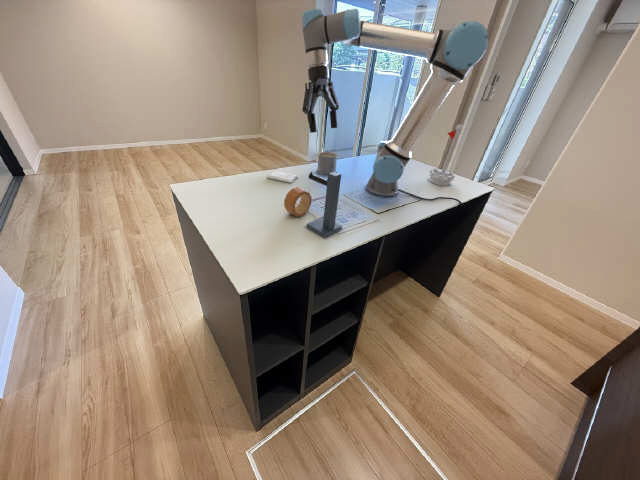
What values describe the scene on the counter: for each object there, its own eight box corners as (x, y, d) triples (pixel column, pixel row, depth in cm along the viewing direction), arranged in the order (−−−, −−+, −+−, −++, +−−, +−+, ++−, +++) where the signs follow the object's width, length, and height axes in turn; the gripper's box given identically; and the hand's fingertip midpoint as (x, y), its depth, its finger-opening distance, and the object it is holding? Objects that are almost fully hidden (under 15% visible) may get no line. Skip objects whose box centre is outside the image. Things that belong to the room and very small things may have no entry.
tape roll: (302, 207, 102) (303, 184, 97) (310, 211, 100) (312, 188, 94) (284, 215, 96) (284, 191, 90) (292, 220, 94) (292, 195, 88)
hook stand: (324, 238, 85) (331, 179, 73) (299, 222, 92) (301, 167, 80) (341, 229, 91) (349, 173, 79) (315, 215, 98) (320, 162, 86)
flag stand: (456, 183, 141) (479, 126, 124) (443, 188, 134) (466, 128, 117) (435, 176, 149) (454, 121, 132) (422, 179, 142) (441, 122, 125)
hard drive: (275, 173, 132) (296, 178, 129) (267, 178, 125) (290, 183, 122) (275, 170, 131) (297, 175, 128) (267, 175, 124) (290, 180, 121)
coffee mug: (326, 176, 133) (328, 158, 128) (313, 171, 139) (315, 153, 133) (342, 172, 142) (345, 154, 136) (330, 167, 147) (332, 149, 141)
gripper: (329, 70, 101) (334, 127, 111) (286, 67, 85) (296, 134, 94) (345, 66, 97) (349, 125, 106) (302, 62, 80) (311, 133, 90)
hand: (324, 130), depth 100 cm, fingers open, 13 cm apart
